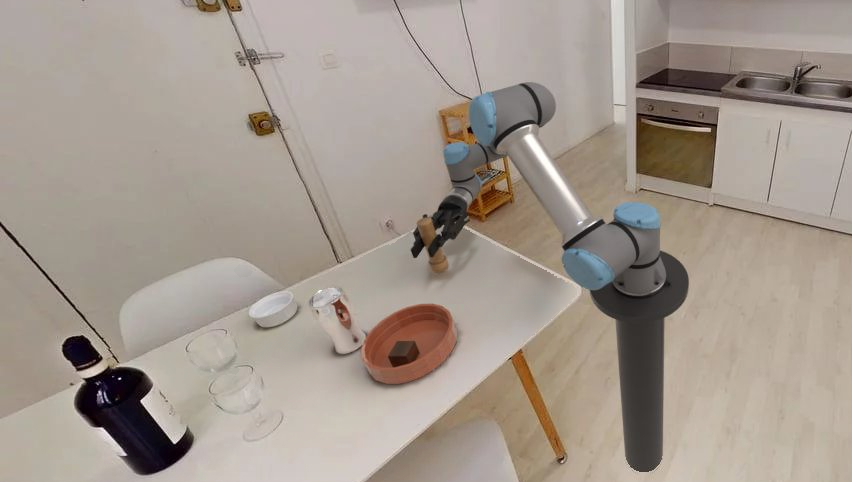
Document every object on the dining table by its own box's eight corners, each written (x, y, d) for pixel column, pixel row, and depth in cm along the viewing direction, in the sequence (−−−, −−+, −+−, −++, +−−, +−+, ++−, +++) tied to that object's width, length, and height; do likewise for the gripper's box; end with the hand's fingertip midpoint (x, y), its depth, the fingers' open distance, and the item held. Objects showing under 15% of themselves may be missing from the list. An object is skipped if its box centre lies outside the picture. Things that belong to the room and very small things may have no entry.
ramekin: (260, 335, 98) (251, 323, 96) (253, 317, 104) (245, 304, 101) (304, 314, 104) (296, 302, 102) (296, 297, 109) (288, 285, 107)
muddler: (451, 262, 117) (436, 216, 109) (445, 273, 113) (428, 226, 105) (435, 263, 117) (419, 216, 109) (428, 273, 113) (411, 226, 105)
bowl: (468, 317, 102) (464, 302, 100) (437, 384, 86) (431, 369, 84) (395, 318, 102) (389, 304, 100) (351, 386, 86) (342, 371, 84)
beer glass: (337, 337, 97) (310, 290, 90) (370, 327, 100) (347, 281, 92) (330, 360, 92) (302, 312, 84) (366, 349, 94) (341, 302, 87)
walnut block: (419, 352, 92) (414, 340, 91) (411, 368, 89) (405, 355, 87) (402, 352, 92) (396, 340, 91) (393, 368, 89) (387, 356, 87)
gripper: (485, 214, 127) (457, 263, 107) (431, 216, 127) (394, 266, 107) (479, 193, 124) (450, 240, 103) (424, 195, 124) (384, 243, 103)
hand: (421, 253), depth 105 cm, fingers closed on muddler, 4 cm apart
